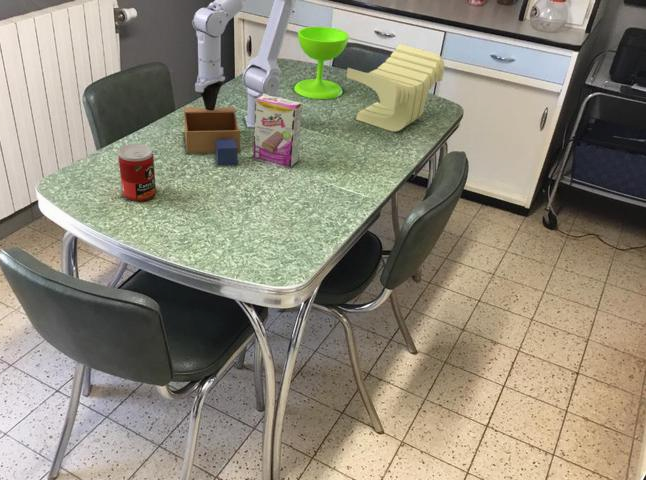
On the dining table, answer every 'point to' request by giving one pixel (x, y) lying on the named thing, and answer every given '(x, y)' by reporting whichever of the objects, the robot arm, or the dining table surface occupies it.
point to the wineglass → (321, 59)
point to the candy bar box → (277, 129)
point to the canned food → (137, 171)
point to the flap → (216, 110)
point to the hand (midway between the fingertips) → (210, 109)
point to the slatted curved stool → (400, 87)
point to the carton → (209, 131)
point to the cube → (226, 152)
